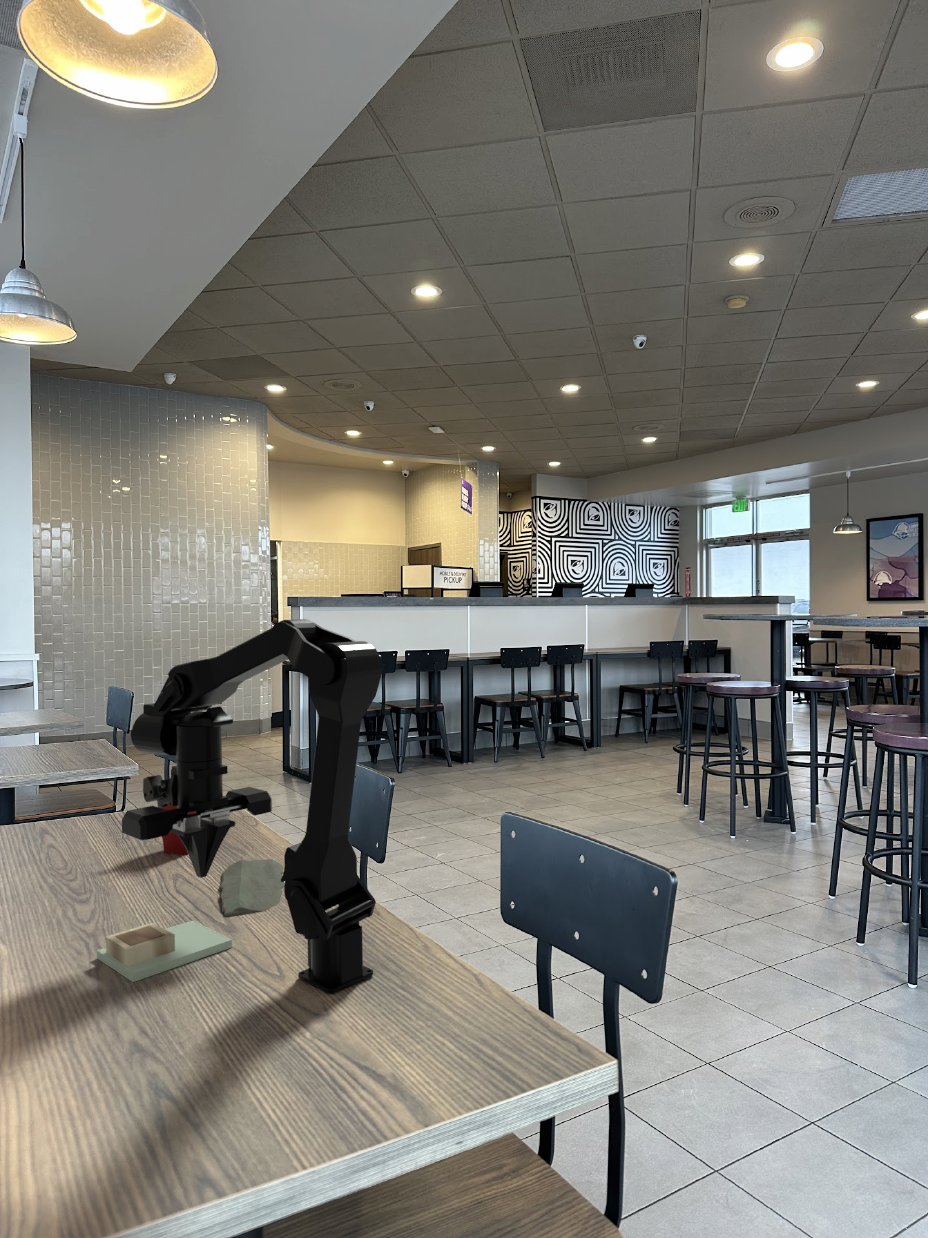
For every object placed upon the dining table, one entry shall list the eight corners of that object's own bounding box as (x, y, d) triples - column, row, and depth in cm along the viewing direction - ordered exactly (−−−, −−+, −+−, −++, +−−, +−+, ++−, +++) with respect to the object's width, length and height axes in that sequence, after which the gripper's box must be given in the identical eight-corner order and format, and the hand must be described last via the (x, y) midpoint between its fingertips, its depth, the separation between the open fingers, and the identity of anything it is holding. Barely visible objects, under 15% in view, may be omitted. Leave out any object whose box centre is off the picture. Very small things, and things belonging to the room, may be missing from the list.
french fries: (156, 854, 146) (154, 771, 146) (184, 841, 154) (182, 762, 154) (198, 857, 143) (196, 773, 143) (225, 844, 151) (223, 764, 151)
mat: (232, 947, 104) (231, 939, 104) (132, 982, 95) (132, 974, 95) (193, 927, 111) (193, 920, 111) (97, 958, 102) (97, 950, 102)
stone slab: (281, 874, 139) (220, 872, 136) (283, 858, 139) (222, 855, 136) (288, 923, 117) (216, 922, 115) (290, 904, 117) (218, 903, 115)
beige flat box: (174, 934, 101) (127, 949, 97) (174, 950, 101) (127, 966, 97) (152, 922, 105) (105, 936, 101) (152, 938, 105) (106, 952, 101)
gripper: (229, 743, 119) (231, 849, 119) (101, 762, 105) (104, 881, 106) (273, 751, 112) (275, 864, 112) (141, 772, 98) (143, 901, 98)
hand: (201, 876), depth 107 cm, fingers closed
